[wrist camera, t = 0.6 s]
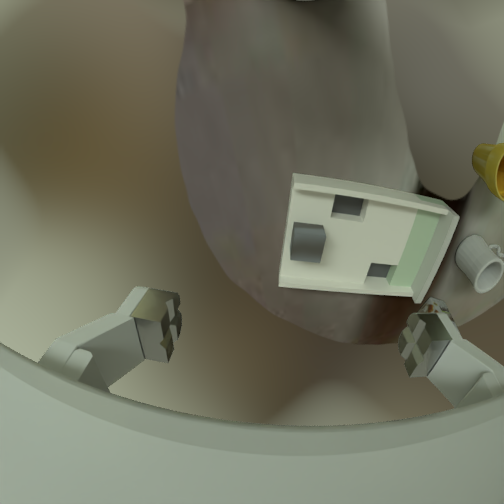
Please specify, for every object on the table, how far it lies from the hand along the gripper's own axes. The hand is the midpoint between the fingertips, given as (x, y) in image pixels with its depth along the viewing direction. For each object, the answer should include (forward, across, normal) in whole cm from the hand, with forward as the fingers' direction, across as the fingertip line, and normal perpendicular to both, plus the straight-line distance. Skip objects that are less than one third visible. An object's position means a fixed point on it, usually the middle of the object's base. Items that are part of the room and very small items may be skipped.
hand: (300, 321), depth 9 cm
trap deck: (+40, -17, +12) cm, 45 cm away
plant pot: (+38, -40, -9) cm, 56 cm away
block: (+37, -6, +12) cm, 39 cm away
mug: (+40, -47, +11) cm, 63 cm away
